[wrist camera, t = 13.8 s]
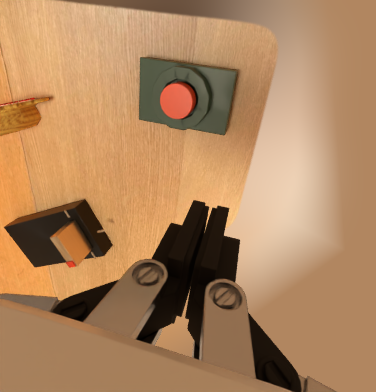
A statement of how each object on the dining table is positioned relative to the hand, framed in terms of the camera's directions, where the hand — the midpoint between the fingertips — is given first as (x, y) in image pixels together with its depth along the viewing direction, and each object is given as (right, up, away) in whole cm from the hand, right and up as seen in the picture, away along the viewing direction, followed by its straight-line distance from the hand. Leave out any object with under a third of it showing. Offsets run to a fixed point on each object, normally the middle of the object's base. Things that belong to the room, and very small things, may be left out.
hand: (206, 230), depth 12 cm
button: (-2, +12, +17) cm, 21 cm away
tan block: (-19, -5, +32) cm, 37 cm away
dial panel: (-23, -5, +36) cm, 44 cm away
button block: (-1, +14, +20) cm, 24 cm away
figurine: (-25, +14, +27) cm, 39 cm away
